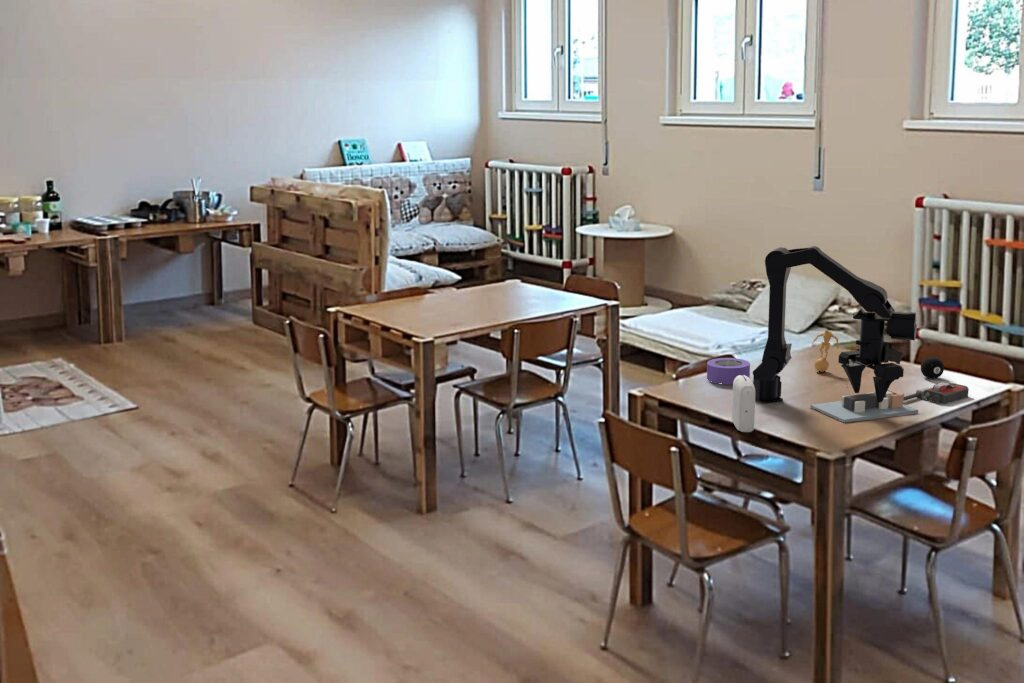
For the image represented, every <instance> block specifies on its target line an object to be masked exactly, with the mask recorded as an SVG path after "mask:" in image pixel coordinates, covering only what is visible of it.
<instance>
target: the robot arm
mask: <svg viewBox="0 0 1024 683" xmlns="http://www.w3.org/2000/svg"><path fill="white" fill-rule="evenodd" d="M802 265H811V266H812V267H814V268H816V269H817V270H818V271H819V272H821V273H822V274H824V275H825V276H826V277H827V278H829V279H831V280H832V281H833V282H835V283H837V285H839V286H841V287H842V288H843V289H845V290H846V291H848V293H849V294H850V295H851V296H852V297H853V299H854V300H855V301H856V303H858V305H860V306H861V307H862V308H860V309H859V310H858V311H857V312H855V313H854V315H853V316H852V319H854V320H860V331H859V332H860V333H859V339H856V340H855V345H858V346H859V347H858V348H859V349H858V350H856V349H855V350H849V351H846V350H845V351H842V352H841V353H840V354H839V355H838V363H839V364H840V365H841V368H843V370H844V373H845V375H846V376H847V379H848V381H849V383H850V385H851V388H852V389H853V393H855V394H859V393H860V390H861V385H862V377H863V372H864V371H865V369H866V368H868V369H872V370H873V374H874V376H873V377H872V379H873V385H874V390H875V391H876V397H877V401H878V402H882V401H883V399H884V397H885V395H886V392H887V390H888V389H890V387H891V384H892V383H893V382H894V381H896V380H899V379H900V378H903V377H904V372H905V369H904V367H903V366H902V365H900V364H901V361H902V359H903V356H904V352H902V351H899V350H897V349H894V348H890V344H889V343H888V341H885V328H886V335H888V337H890V339H891V340H902V341H916V339H917V331H918V330H917V329H918V328H917V327H918V324H917V312H914V311H913V312H912V311H911V312H902V311H901V312H898V311H896V310H895V308H894V307H893V306H892V304H891V303H890V301H889V300H888V293H887V291H886V289H884V287H882V286H880V285H878V284H876V283H874V282H871V281H869V280H866V279H863V278H861V277H860V276H858V275H856V274H854V273H853V272H852V271H851V270H849V269H848V268H846V267H845V266H843V265H842V264H840V263H839V262H838V261H837V260H835V259H834V258H832V257H831V256H829V255H828V254H826V253H825V252H824V251H823V250H821V249H820V248H819V247H818V246H816V245H815V246H814V245H812V246H809V247H799V248H792V249H787V248H786V247H777V248H774V249H773V250H772V251H770V252H769V253H768V254H767V255H766V256H765V259H764V266H765V272H766V277H767V280H768V284H769V295H768V297H769V298H768V300H769V301H768V325H767V326H768V329H767V340H766V343H765V345H764V350H763V354H762V359H761V363H759V365H758V366H756V367H755V369H754V370H753V371H752V375H753V380H752V382H753V384H754V387H755V402H758V403H761V404H765V403H766V404H768V403H775V402H783V401H784V399H783V397H782V381H781V375H779V374H780V373H781V372H782V371H783V370H784V369H785V368H786V366H788V364H789V362H790V361H791V359H792V356H791V350H792V343H787V341H786V337H785V330H786V329H785V328H786V327H785V326H786V304H787V303H786V301H787V296H786V295H787V282H788V280H789V276H790V273H791V269H792V268H794V267H799V266H802ZM885 324H886V325H885ZM875 391H874V392H875Z"/></svg>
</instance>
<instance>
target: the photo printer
mask: <svg viewBox="0 0 1024 683" xmlns="http://www.w3.org/2000/svg"><path fill="white" fill-rule="evenodd" d="M755 412H756V400H755V387H754V384H753V380H752V379H751V378H749V377H747V376H745V375H743V376H741V375H739V376H737V377H736V378H735V379H734V381H733V385H732V406H731V421H732V423H733V424H734V427H735V428H736V430H737V431H740V432H741V433H752V432H753V431H754V428H755V415H756V414H755Z"/></svg>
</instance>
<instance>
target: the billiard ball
mask: <svg viewBox="0 0 1024 683" xmlns="http://www.w3.org/2000/svg"><path fill="white" fill-rule="evenodd" d="M944 371H945V366H944V363H943V361H942V359H940V358H939V357H936V356H930V357H929V356H928V357H927V358H925V359H923V360H922V362H921V363H920V372H921V374H922V375H923V376H924V377H926V378H928V379H930V378H932V379H931V380H933V379H934V378H935V379H938V378H940V377H941V376H942V375H943V373H944Z"/></svg>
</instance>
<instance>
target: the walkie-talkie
mask: <svg viewBox="0 0 1024 683" xmlns="http://www.w3.org/2000/svg"><path fill="white" fill-rule="evenodd" d="M969 392H970V390H969V387H968V386H966V385H963V384H958V383H957V382H951V381H949V382H948V383H946V382H940V383H935V384H934V385H933V386H932V387H924V388H921V389H916V392H915V393H912V394H909V395H906V396H905V395H904V399H903V402H904V401H905V402H906V401H908V400H912V399H915V398H918V397H921V398H920V399H922V398H923V399H924V401H929V400H930V401H929V402H933V401H934V403H937V404H942V405H947V404H951V403H953V402H956V401H960V400H962V399H963V400H964V399H966V398H968V397H969ZM918 399H919V398H918ZM923 399H922V400H923ZM925 399H927V400H925Z"/></svg>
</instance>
